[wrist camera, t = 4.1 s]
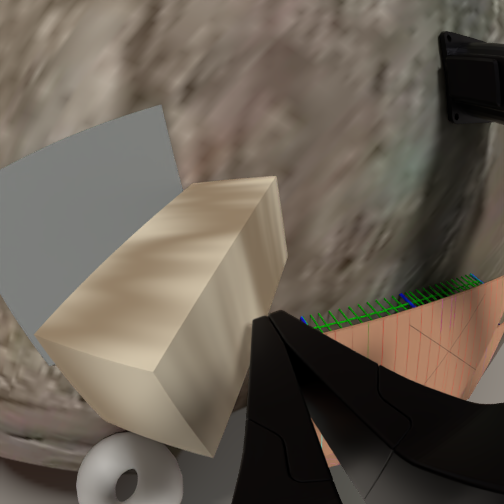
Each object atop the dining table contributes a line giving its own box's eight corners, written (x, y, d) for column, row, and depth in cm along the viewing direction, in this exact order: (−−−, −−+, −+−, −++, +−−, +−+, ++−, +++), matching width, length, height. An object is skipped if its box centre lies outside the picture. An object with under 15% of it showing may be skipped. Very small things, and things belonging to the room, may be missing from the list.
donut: (159, 410, 21) (178, 529, 12) (181, 428, 23) (205, 534, 14) (69, 436, 20) (69, 535, 12) (94, 452, 22) (100, 544, 13)
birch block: (276, 175, 13) (153, 372, 5) (287, 256, 15) (213, 458, 7) (192, 183, 14) (33, 334, 6) (211, 255, 16) (104, 420, 8)
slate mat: (161, 104, 12) (161, 104, 12) (220, 316, 18) (221, 320, 18) (-41, 194, 10) (-45, 196, 10) (50, 361, 16) (49, 365, 16)
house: (245, 312, 19) (292, 419, 12) (513, 251, 27) (561, 284, 20) (246, 462, 30) (267, 521, 23) (452, 382, 38) (481, 416, 31)
